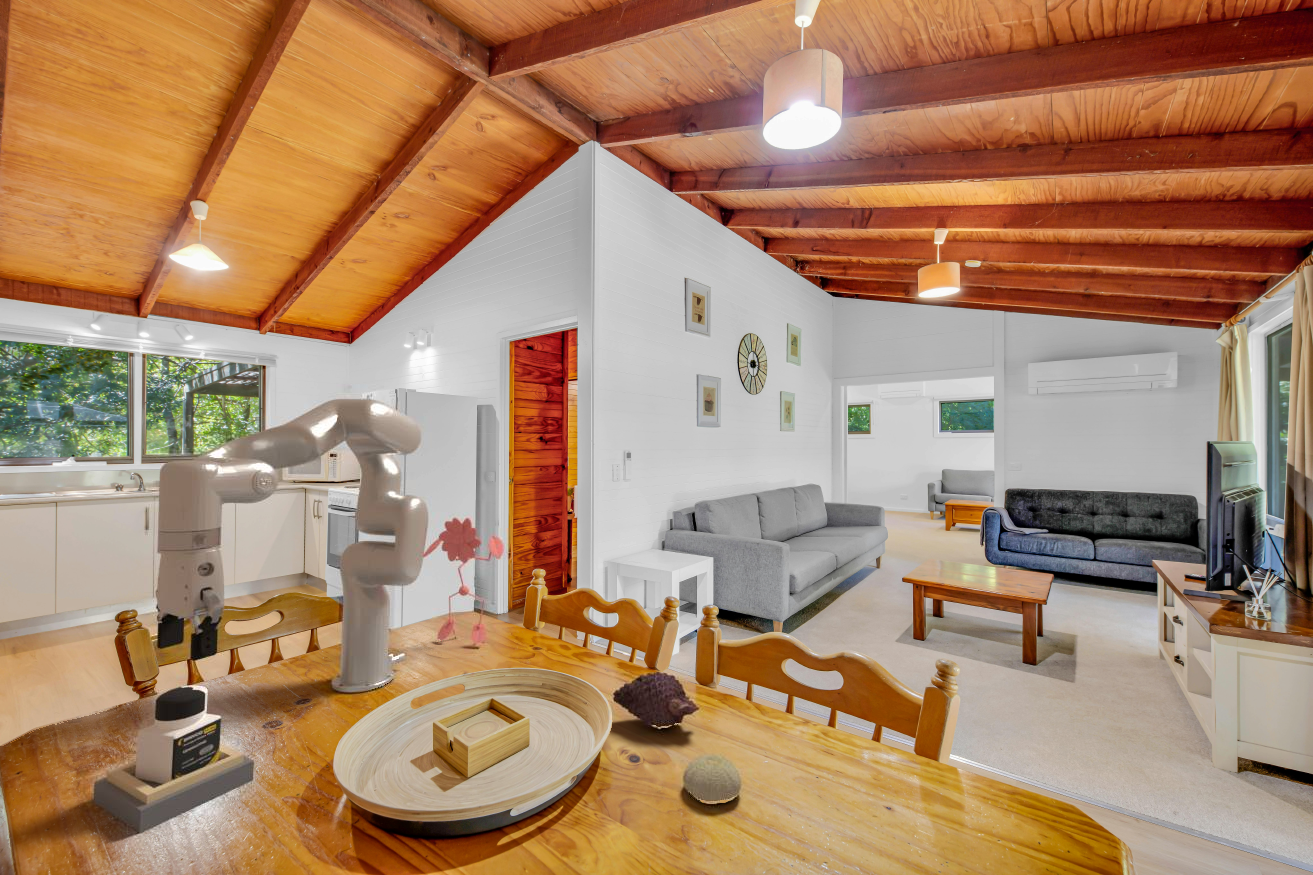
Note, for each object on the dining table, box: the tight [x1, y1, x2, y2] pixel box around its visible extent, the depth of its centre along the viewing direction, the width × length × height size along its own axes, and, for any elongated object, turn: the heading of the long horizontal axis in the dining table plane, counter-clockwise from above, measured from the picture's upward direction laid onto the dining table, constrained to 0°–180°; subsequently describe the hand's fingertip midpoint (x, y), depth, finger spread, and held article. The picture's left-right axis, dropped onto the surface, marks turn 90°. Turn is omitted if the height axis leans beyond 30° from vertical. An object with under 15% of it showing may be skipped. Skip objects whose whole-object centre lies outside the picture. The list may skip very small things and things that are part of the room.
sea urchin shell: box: [682, 753, 742, 801], centre depth 87 cm, size 9×8×8 cm
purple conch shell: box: [612, 671, 700, 727], centre depth 109 cm, size 18×10×10 cm, turn 74°
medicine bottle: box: [135, 684, 222, 784], centre depth 85 cm, size 7×7×12 cm
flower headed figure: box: [423, 517, 505, 645], centre depth 148 cm, size 15×26×35 cm, turn 73°
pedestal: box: [92, 743, 255, 834], centre depth 84 cm, size 14×14×4 cm
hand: (186, 651), depth 85 cm, fingers open, 9 cm apart
